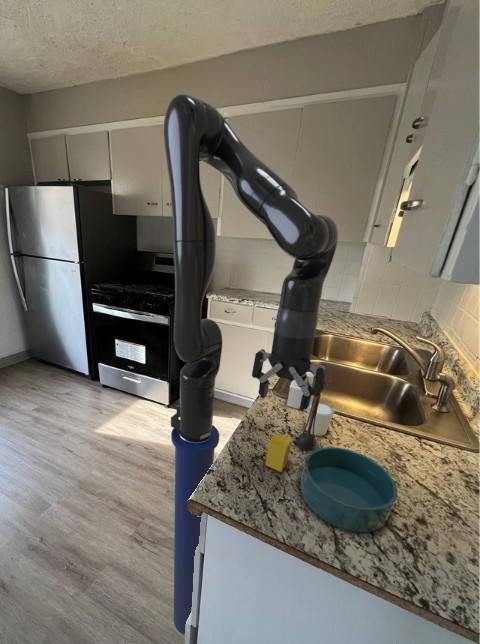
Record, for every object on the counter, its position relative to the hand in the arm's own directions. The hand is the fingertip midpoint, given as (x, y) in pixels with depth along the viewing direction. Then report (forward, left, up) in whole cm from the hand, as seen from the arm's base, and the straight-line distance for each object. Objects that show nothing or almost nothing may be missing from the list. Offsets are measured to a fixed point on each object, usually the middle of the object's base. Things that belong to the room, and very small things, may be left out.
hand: (282, 402), depth 67 cm
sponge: (+1, +1, -18) cm, 18 cm away
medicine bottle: (-3, +32, -18) cm, 37 cm away
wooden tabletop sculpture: (+5, +13, -18) cm, 23 cm away
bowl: (+16, 0, -18) cm, 24 cm away
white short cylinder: (+5, +21, -18) cm, 28 cm away
